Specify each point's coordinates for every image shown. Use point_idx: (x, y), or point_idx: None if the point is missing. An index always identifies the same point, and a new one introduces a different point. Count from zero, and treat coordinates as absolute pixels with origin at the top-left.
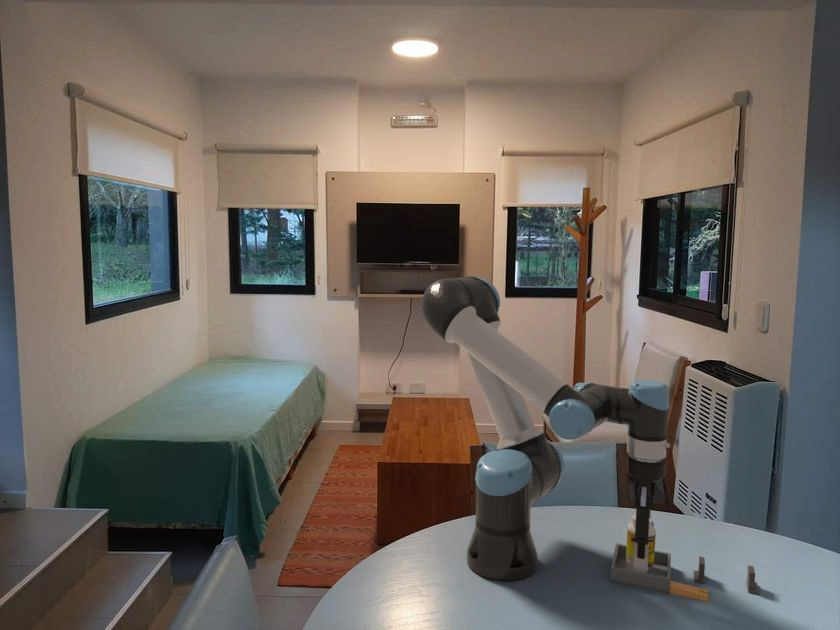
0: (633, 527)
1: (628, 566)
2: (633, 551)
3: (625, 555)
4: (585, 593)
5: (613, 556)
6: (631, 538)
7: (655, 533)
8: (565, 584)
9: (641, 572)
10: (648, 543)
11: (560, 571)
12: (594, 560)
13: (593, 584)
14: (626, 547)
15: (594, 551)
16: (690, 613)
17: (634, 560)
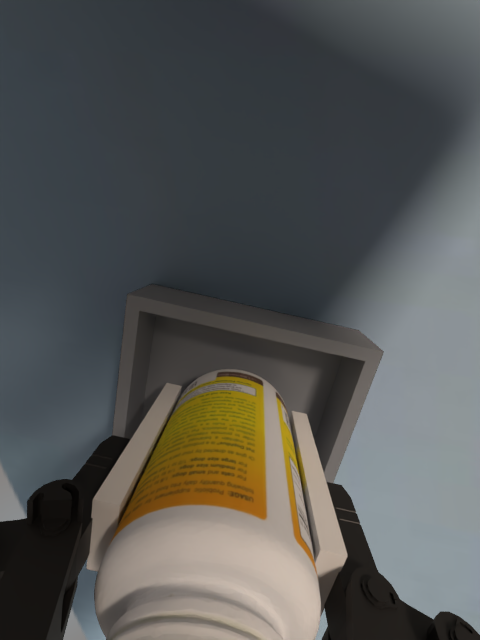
0: (160, 576)
1: (261, 367)
2: (164, 432)
3: (341, 370)
4: (37, 174)
5: (241, 320)
6: (30, 501)
7: None
8: (76, 81)
9: (126, 413)
10: (90, 563)
11: (182, 56)
12: (312, 237)
13: (114, 214)
14: (233, 402)
15: (397, 244)
16: (47, 482)
17: (150, 411)
